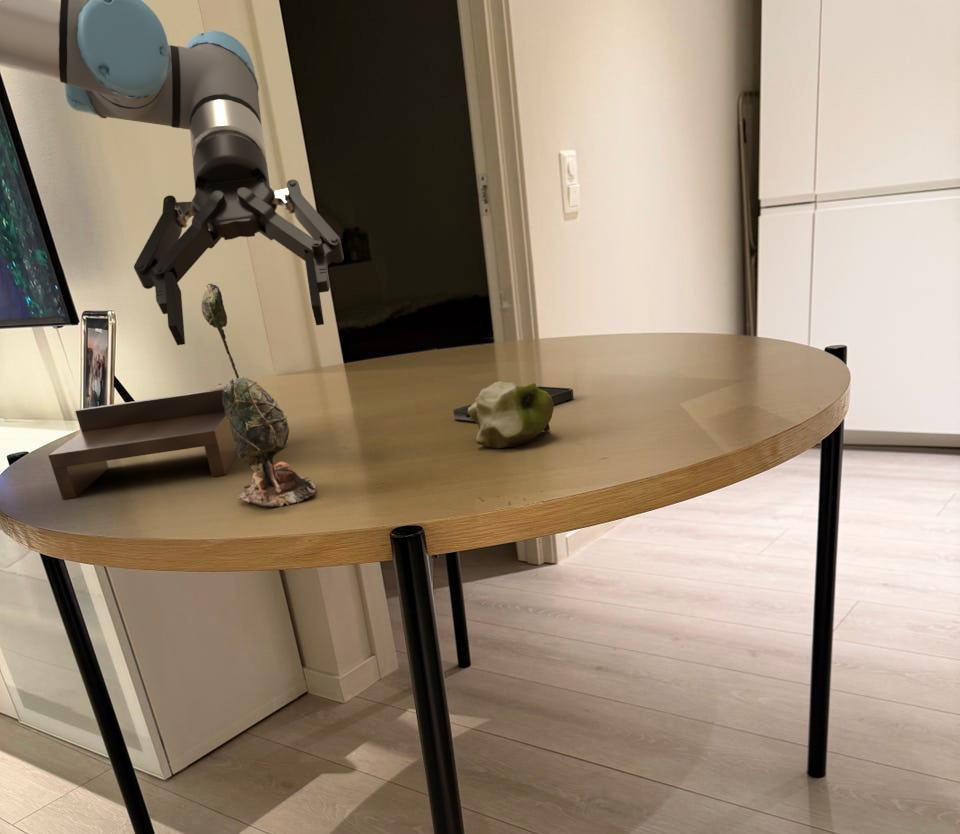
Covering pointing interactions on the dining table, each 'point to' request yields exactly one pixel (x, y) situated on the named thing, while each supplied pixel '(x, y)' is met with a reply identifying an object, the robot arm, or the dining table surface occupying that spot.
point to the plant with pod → (256, 427)
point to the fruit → (511, 414)
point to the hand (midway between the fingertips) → (247, 325)
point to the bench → (143, 436)
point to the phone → (555, 393)
